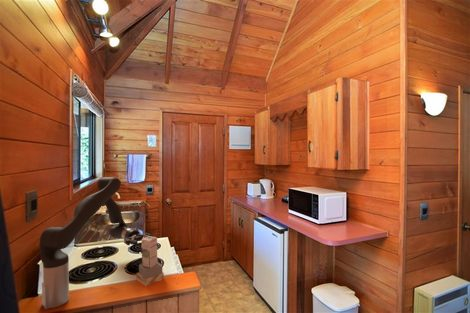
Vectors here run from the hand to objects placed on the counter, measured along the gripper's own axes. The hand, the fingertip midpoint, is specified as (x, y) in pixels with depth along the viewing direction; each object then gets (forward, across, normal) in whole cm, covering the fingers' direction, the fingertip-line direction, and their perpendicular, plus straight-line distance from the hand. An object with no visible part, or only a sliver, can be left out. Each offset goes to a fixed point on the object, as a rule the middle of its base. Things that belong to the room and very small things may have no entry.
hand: (144, 241), depth 135 cm
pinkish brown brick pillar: (+7, -1, +11) cm, 13 cm away
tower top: (+8, -1, +15) cm, 17 cm away
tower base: (+7, -1, +19) cm, 20 cm away
